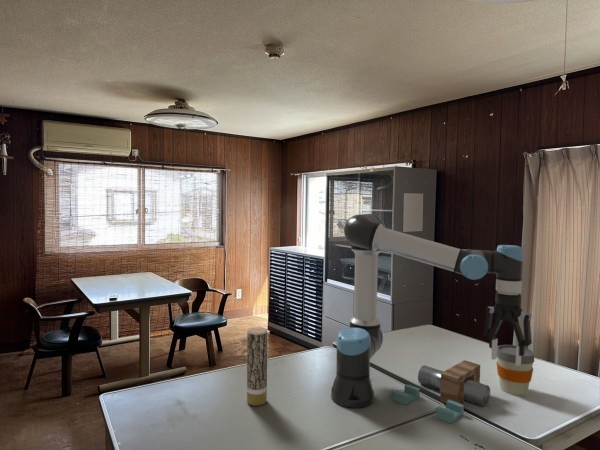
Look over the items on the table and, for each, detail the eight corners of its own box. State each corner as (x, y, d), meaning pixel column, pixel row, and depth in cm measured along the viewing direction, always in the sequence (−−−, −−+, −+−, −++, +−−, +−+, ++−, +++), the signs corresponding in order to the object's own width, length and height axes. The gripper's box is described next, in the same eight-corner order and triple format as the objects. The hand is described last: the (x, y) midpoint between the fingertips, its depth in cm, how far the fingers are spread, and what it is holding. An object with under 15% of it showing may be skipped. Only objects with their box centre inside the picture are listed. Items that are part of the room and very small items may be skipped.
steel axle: (490, 402, 141) (490, 383, 141) (481, 409, 137) (482, 389, 136) (427, 380, 159) (427, 363, 159) (417, 386, 154) (418, 367, 154)
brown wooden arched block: (456, 407, 137) (457, 378, 137) (440, 401, 142) (440, 373, 141) (479, 391, 150) (480, 364, 149) (463, 386, 154) (464, 360, 154)
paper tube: (248, 407, 135) (248, 333, 134) (245, 398, 142) (246, 327, 141) (268, 405, 137) (269, 332, 136) (264, 396, 144) (265, 326, 143)
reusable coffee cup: (487, 385, 155) (488, 346, 154) (512, 380, 159) (513, 343, 159) (515, 400, 143) (516, 358, 143) (541, 394, 148) (542, 354, 147)
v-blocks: (450, 423, 127) (450, 414, 127) (393, 399, 142) (393, 391, 142) (463, 414, 133) (463, 405, 133) (407, 392, 148) (407, 384, 148)
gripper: (545, 295, 128) (543, 367, 129) (482, 286, 143) (480, 350, 144) (538, 299, 123) (535, 373, 124) (473, 289, 138) (471, 356, 139)
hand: (506, 361), depth 134 cm, fingers open, 7 cm apart
